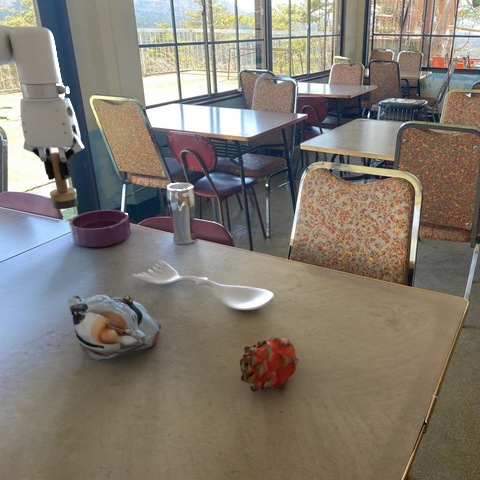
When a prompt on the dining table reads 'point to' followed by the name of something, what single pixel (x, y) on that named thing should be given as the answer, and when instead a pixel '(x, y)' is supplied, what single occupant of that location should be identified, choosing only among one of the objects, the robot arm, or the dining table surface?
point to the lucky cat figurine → (112, 325)
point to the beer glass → (182, 212)
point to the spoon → (228, 294)
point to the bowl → (100, 228)
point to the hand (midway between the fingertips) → (60, 177)
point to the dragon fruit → (268, 363)
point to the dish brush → (61, 187)
